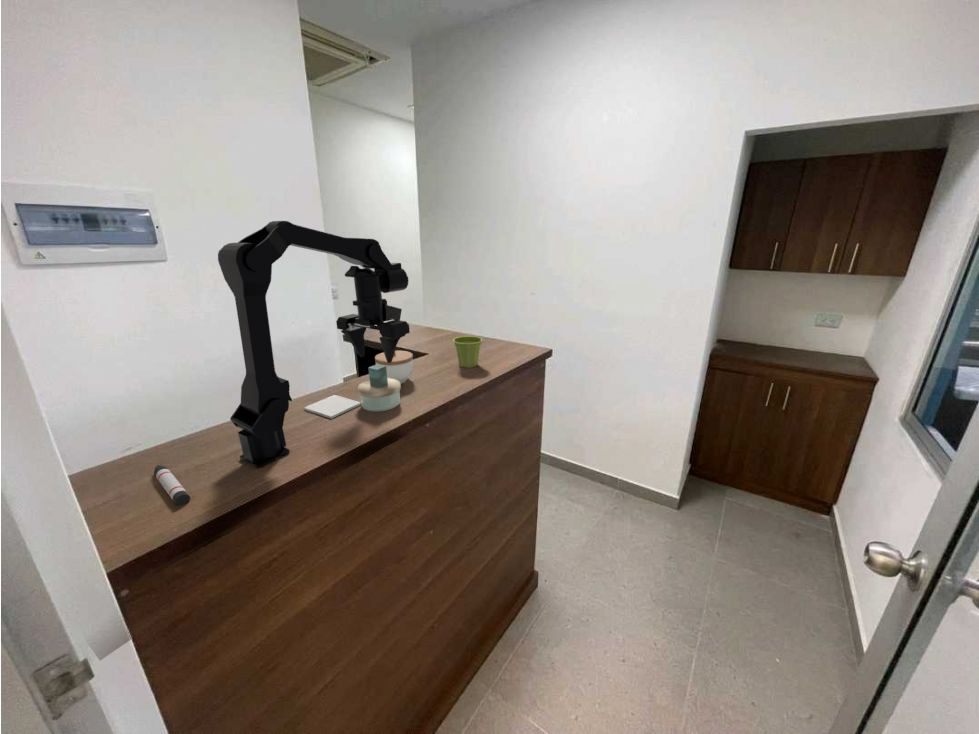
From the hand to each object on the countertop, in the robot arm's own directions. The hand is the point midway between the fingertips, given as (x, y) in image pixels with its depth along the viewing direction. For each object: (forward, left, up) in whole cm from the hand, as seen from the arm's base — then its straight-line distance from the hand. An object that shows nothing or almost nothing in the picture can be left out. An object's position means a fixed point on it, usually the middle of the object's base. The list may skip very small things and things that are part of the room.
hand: (375, 359), depth 94 cm
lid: (0, 0, -8) cm, 8 cm away
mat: (-7, +9, -12) cm, 17 cm away
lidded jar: (+14, +8, -12) cm, 20 cm away
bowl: (0, 0, -12) cm, 12 cm away
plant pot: (+36, -3, -12) cm, 38 cm away
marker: (-43, +7, -12) cm, 45 cm away
